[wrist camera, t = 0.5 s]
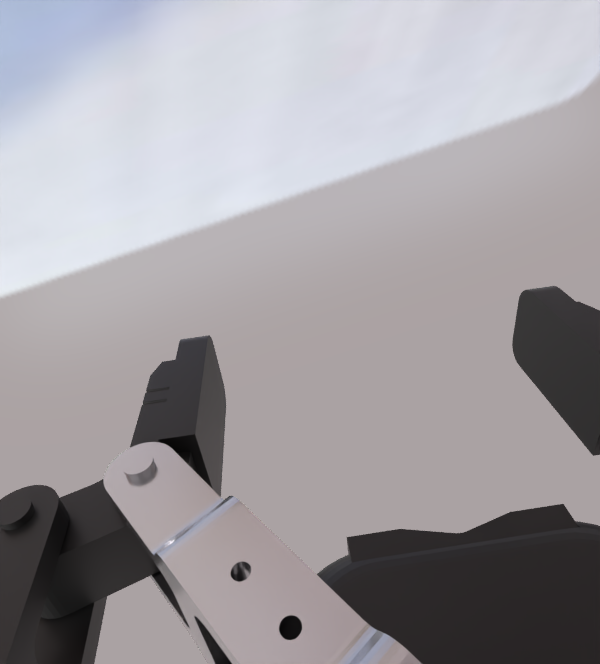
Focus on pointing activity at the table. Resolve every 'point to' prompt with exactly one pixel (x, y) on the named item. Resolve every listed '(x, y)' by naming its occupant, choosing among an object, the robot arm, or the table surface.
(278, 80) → the table surface
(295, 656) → the robot arm
